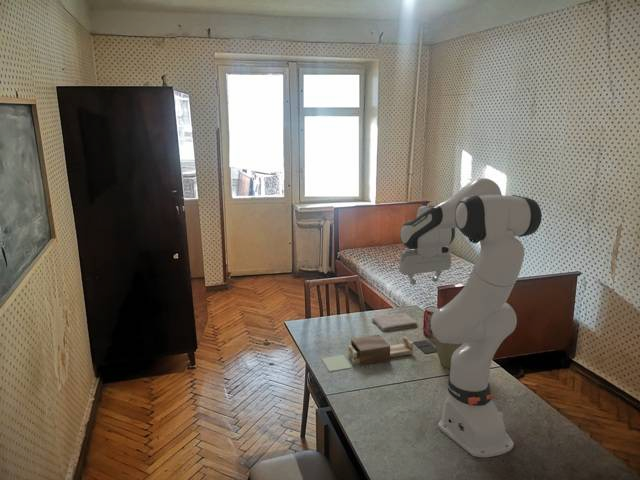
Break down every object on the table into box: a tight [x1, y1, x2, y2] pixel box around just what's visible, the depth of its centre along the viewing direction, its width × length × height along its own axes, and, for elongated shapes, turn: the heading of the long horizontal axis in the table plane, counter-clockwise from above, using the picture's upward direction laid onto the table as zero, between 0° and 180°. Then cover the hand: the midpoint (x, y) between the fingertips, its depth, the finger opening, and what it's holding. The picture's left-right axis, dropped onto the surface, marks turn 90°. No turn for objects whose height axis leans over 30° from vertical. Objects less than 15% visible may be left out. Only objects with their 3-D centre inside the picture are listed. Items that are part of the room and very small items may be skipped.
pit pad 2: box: [419, 345, 437, 355], centre depth 186 cm, size 5×6×1 cm
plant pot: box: [432, 335, 463, 369], centre depth 174 cm, size 15×15×16 cm
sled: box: [347, 335, 414, 364], centre depth 182 cm, size 6×25×5 cm, turn 107°
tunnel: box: [350, 334, 391, 367], centre depth 180 cm, size 10×12×6 cm
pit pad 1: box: [413, 339, 432, 349], centre depth 191 cm, size 5×6×1 cm
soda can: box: [422, 305, 440, 338], centre depth 198 cm, size 7×7×12 cm
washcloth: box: [371, 312, 418, 333], centre depth 210 cm, size 12×18×3 cm, turn 108°
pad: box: [321, 354, 353, 373], centre depth 177 cm, size 10×9×1 cm
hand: (424, 282), depth 174 cm, fingers open, 8 cm apart
